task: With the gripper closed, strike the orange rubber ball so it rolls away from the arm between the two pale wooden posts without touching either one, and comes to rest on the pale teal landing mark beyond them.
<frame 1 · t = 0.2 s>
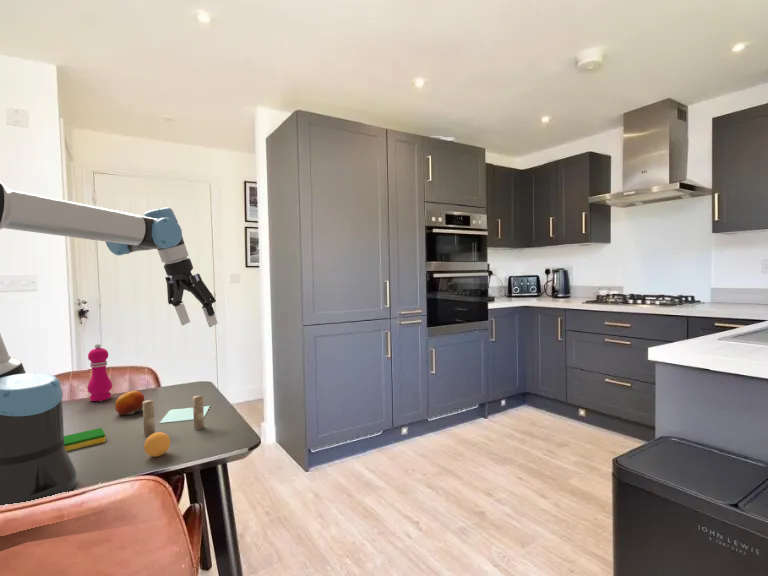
hand: (199, 324, 129), 28 cm above the table, tool tilted 20°, fingers open, 13 cm apart
fruit: (130, 413, 131), on the table
right post: (199, 428, 116), on the table
ball: (157, 444, 98), on the table
dish sponge: (71, 448, 106), on the table
landing mark: (186, 414, 128), on the table
pepper mill: (100, 399, 147), on the table
left post: (149, 433, 112), on the table
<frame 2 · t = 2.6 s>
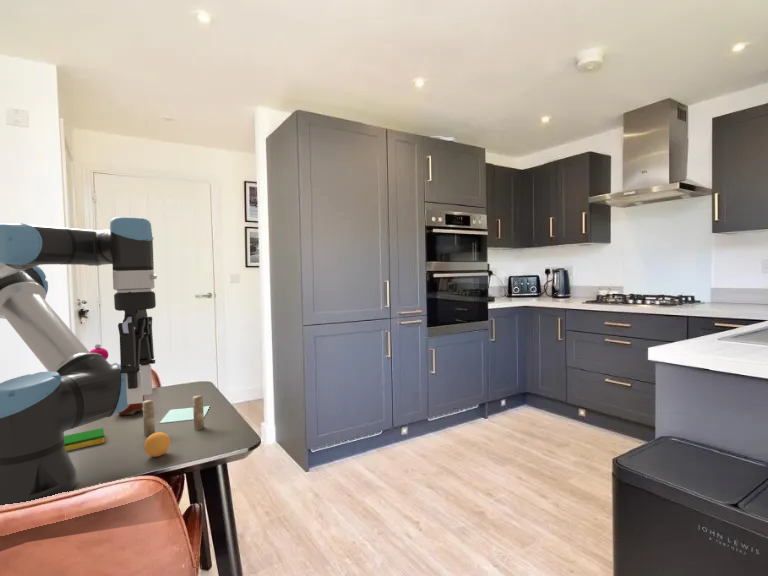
hand: (140, 398, 88), 17 cm above the table, tool pointing down, fingers open, 6 cm apart
nothing on the table moved.
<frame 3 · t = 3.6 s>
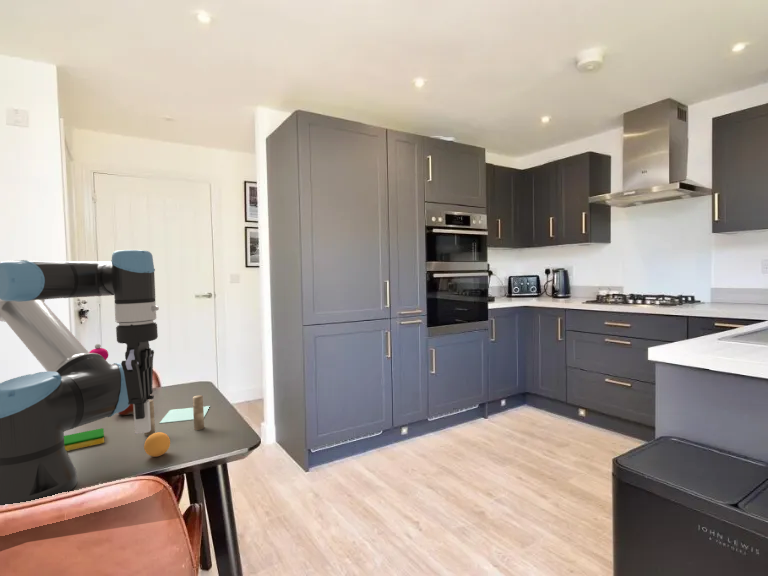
hand: (143, 431, 88), 10 cm above the table, tool pointing down, fingers closed
nothing on the table moved.
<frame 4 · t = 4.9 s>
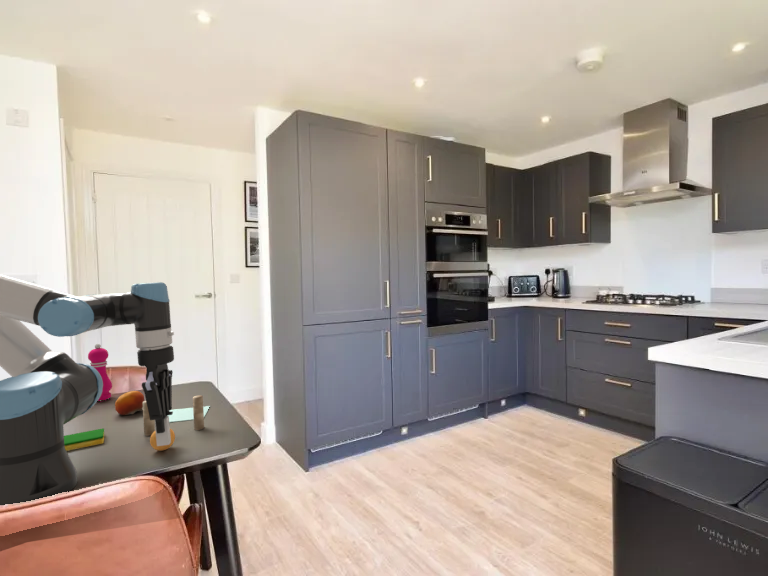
hand: (164, 444, 99), 3 cm above the table, tool pointing down, fingers closed
ball: (162, 438, 102), on the table
everything else where it was.
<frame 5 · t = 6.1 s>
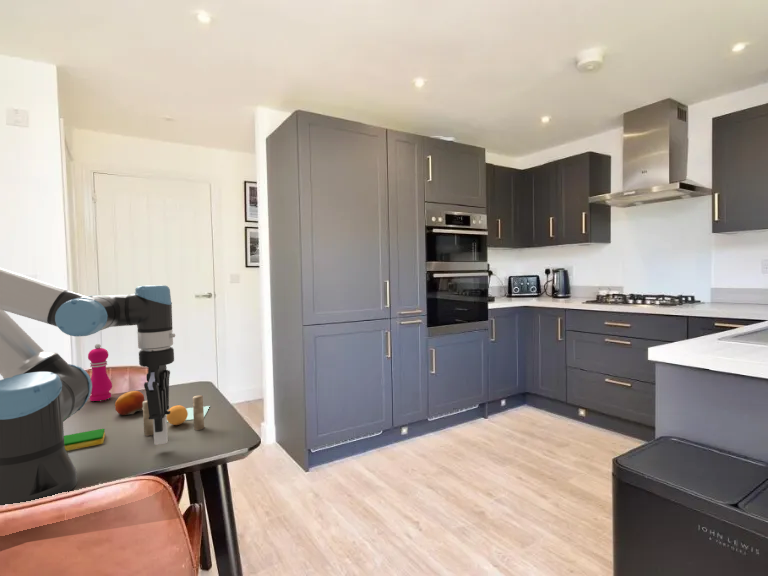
hand: (161, 442, 101), 2 cm above the table, tool pointing down, fingers closed
ball: (177, 415, 119), on the table
everything else where it was.
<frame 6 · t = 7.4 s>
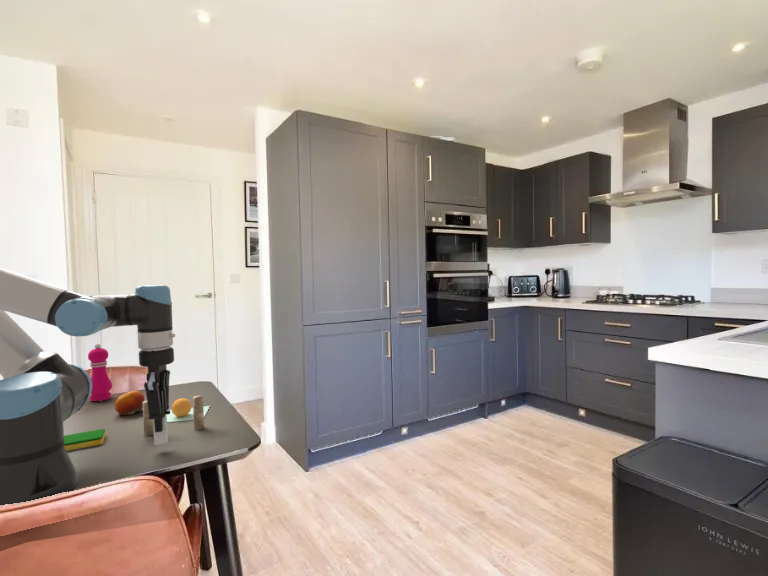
hand: (161, 442, 101), 2 cm above the table, tool pointing down, fingers closed
ball: (181, 407, 126), on the table
everything else where it was.
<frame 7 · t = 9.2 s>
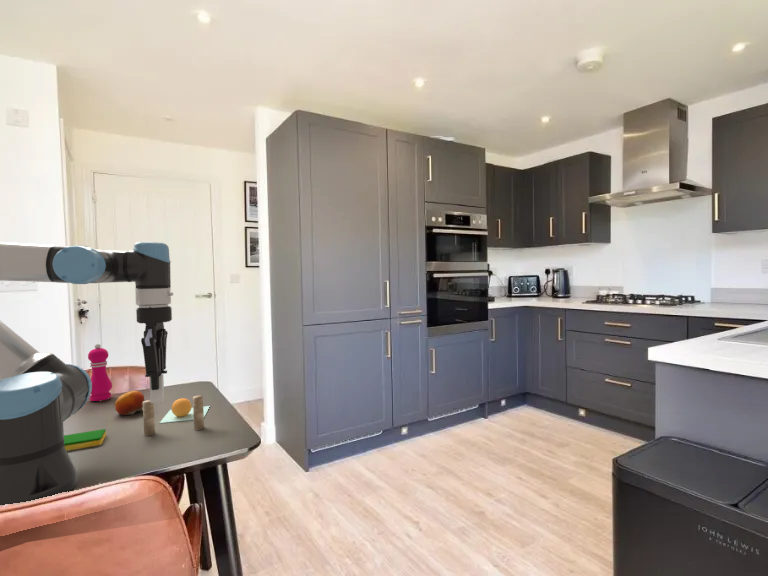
hand: (157, 401, 101), 12 cm above the table, tool pointing down, fingers closed
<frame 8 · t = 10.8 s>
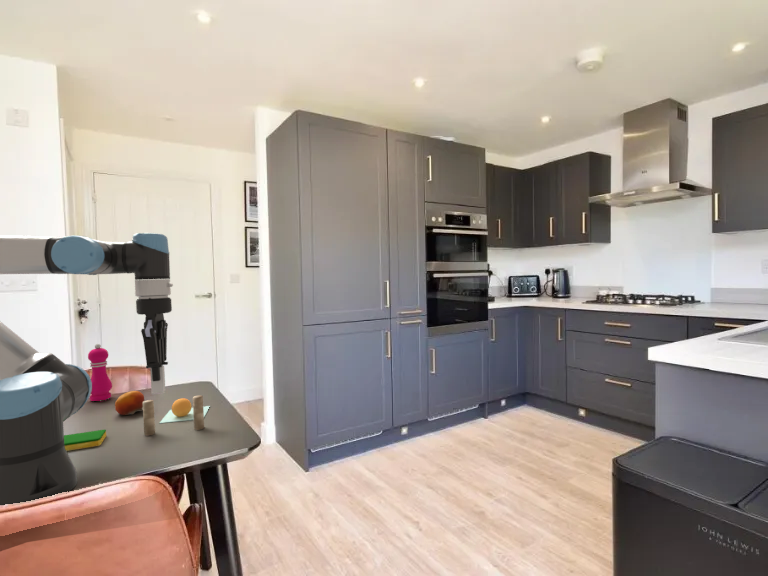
hand: (158, 392, 101), 14 cm above the table, tool pointing down, fingers closed
at the end: ball 1.7 cm from the landing mark (horizontally); ball never touched left post; ball never touched right post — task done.
